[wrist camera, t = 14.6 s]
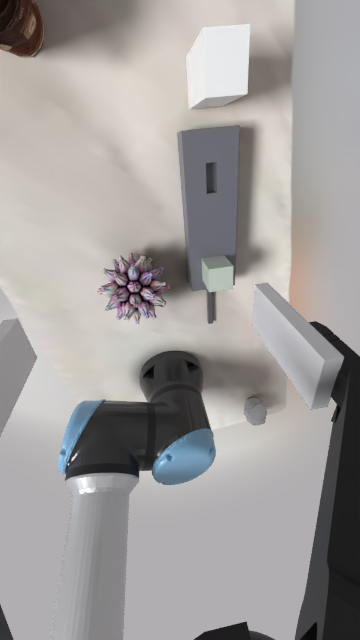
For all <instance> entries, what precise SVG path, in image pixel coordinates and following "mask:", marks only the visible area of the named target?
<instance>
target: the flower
mask: <svg viewBox="0 0 360 640" xmlns="http://www.w3.org/2000/svg"><path fill="white" fill-rule="evenodd" d="M118 258H119V261H120V262H119V263H118V262H117V261H116V260H115V259H113V261H112V262H113V263H114V266H115V270H107V269H105V268H104V269H103V271H102V272H103V273H104V274H105V275H106V277H107V278H108V280H109V281H110V282H112V283H108V284H107V285H105V286H101V288H100V289H98V294H103V295H105V296H107V297H109V298H111V299H110V301H109V304H108V305H107V306H106V307H105V308H106V309H105V310H107V311H108V310H111V309H114V308H118V315H117V318H116V319H118V320H120V319H121V318H122V317H123V319H125V320H130V317H131V316H133V317H134V319H135V321H136V324H137V323H138V324H139V319H140V316H141V314H143V315H144V316H145V318H148V317H149V316H151V317H152V318H153V319H154V318H156V315H155V309H154V306H161V307H163V306H165V305H166V301H165V300H163V298H162V297H161V295H160V293H162V292H164V291H165V290H167V289H170V284H166V282H160V281H158V279H159V278H160V276H161V275H162V274H163V272H162V271H163V270H164V268H163V267H160V268H158V269H152V261H153V259H152V258H150V257H149V259H148V260H146V257H145V256H144V255H141V256H140V259H139V260H138V261H135V259H134V258H133V254H132V253H131V254H129V259H128V262H127V261H126V260H125V259H124V258H123V257H122V256H121V255H120V257H118Z"/></svg>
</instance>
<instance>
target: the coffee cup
mask: <svg viewBox="0 0 360 640" xmlns="http://www.w3.org/2000/svg"><path fill="white" fill-rule="evenodd" d="M44 33H45V31H44V24H43V21H42V17H41V14H40V11H39V8H38V6H37V4H36V2H35V0H0V49H2V50H4V51H9V52H10V53H13V54H15V55H17V56H20V57H33V56H34V55H35V54H36V52H37V51H38V50H40V48H41V45H42V43H43V41H44Z"/></svg>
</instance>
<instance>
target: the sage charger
mask: <svg viewBox="0 0 360 640" xmlns="http://www.w3.org/2000/svg"><path fill="white" fill-rule="evenodd" d="M202 278H203V282H204V283H205V285H206V287H207V289H208V291H209V292H215V291H222V290H228V289H233V265H232V264H231V263H230V261H229V260H228V259H227V258H226V257H225V256H224V255H223V256H216V257H209V258H202Z"/></svg>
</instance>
